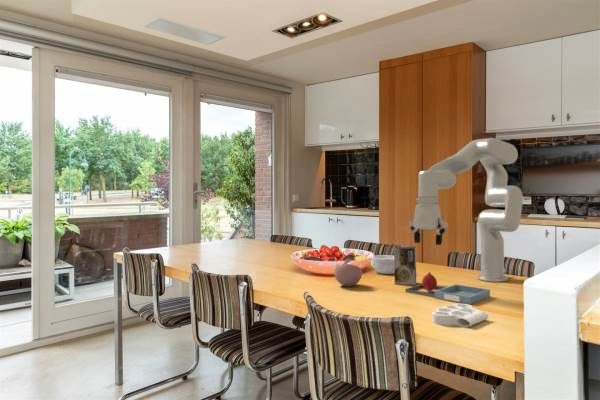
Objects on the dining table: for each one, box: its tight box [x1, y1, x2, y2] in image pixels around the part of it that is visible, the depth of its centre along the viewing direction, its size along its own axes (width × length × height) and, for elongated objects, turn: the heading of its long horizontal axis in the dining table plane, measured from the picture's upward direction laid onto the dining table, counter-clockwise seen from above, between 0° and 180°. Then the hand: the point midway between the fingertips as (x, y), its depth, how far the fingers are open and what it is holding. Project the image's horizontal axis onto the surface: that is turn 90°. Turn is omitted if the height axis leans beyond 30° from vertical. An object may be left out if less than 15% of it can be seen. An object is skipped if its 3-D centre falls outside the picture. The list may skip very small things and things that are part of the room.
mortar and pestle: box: [333, 258, 363, 287], centre depth 191 cm, size 12×12×12 cm
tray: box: [434, 283, 491, 306], centre depth 167 cm, size 16×14×3 cm
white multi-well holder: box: [431, 303, 489, 329], centre depth 140 cm, size 3×18×15 cm
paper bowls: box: [370, 254, 395, 275], centre depth 220 cm, size 15×15×8 cm
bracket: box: [405, 283, 446, 298], centre depth 178 cm, size 14×13×1 cm
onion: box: [421, 272, 438, 293], centre depth 177 cm, size 6×6×8 cm
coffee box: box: [393, 245, 417, 286], centre depth 194 cm, size 9×6×16 cm
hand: (427, 243), depth 178 cm, fingers open, 9 cm apart
